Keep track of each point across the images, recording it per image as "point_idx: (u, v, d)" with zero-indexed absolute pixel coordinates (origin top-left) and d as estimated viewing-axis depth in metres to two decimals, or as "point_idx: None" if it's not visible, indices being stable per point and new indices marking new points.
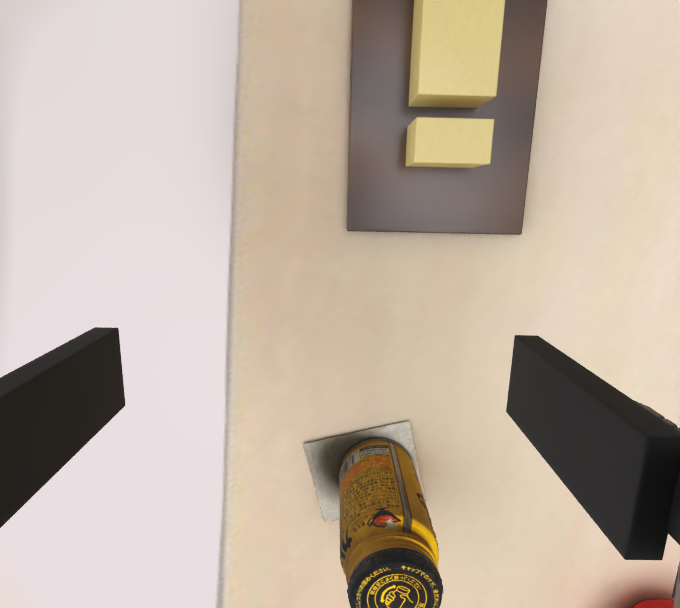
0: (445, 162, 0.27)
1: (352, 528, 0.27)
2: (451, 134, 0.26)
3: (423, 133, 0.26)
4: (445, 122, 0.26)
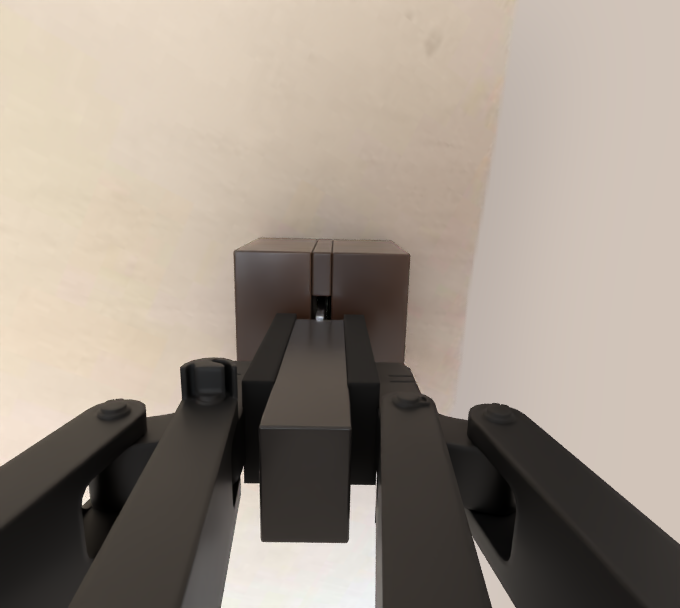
0: None
1: None
2: None
3: None
4: None
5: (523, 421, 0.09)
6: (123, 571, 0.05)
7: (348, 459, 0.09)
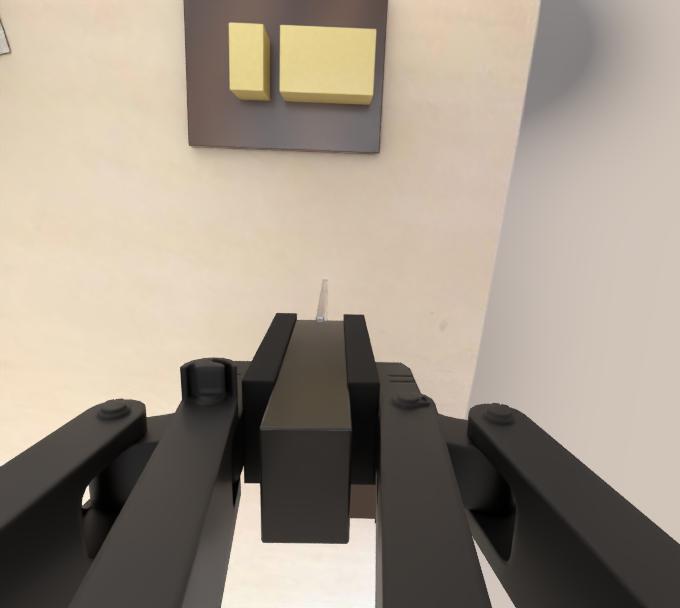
0: (229, 51, 0.33)
1: None
2: (251, 54, 0.33)
3: (250, 30, 0.33)
4: (259, 49, 0.33)
5: (523, 421, 0.09)
6: (123, 571, 0.05)
7: (348, 460, 0.09)
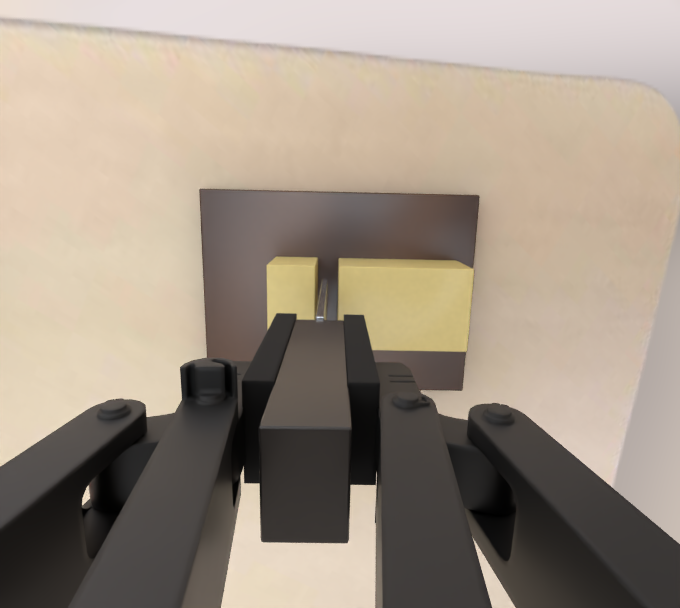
0: (268, 300, 0.24)
1: None
2: (297, 304, 0.24)
3: (297, 274, 0.23)
4: (309, 297, 0.24)
5: (523, 421, 0.09)
6: (123, 571, 0.05)
7: (348, 459, 0.09)
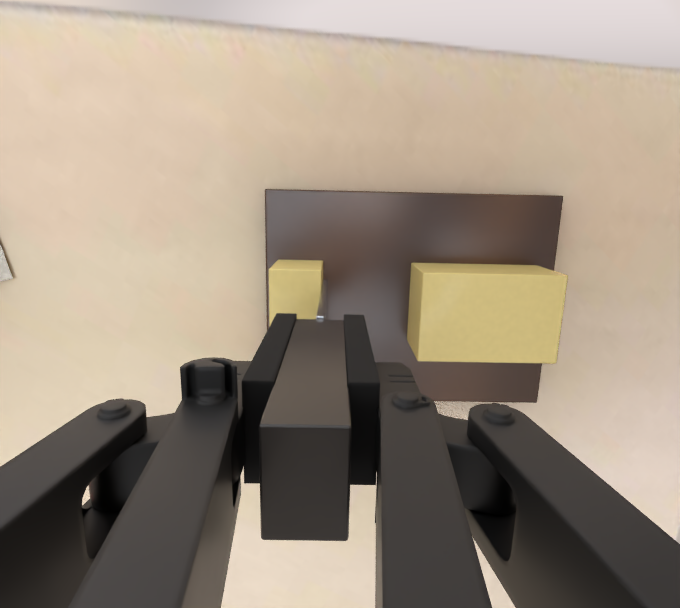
0: (270, 306, 0.22)
1: None
2: (302, 312, 0.22)
3: (302, 279, 0.22)
4: (315, 304, 0.22)
5: (523, 421, 0.09)
6: (123, 571, 0.05)
7: (347, 457, 0.09)
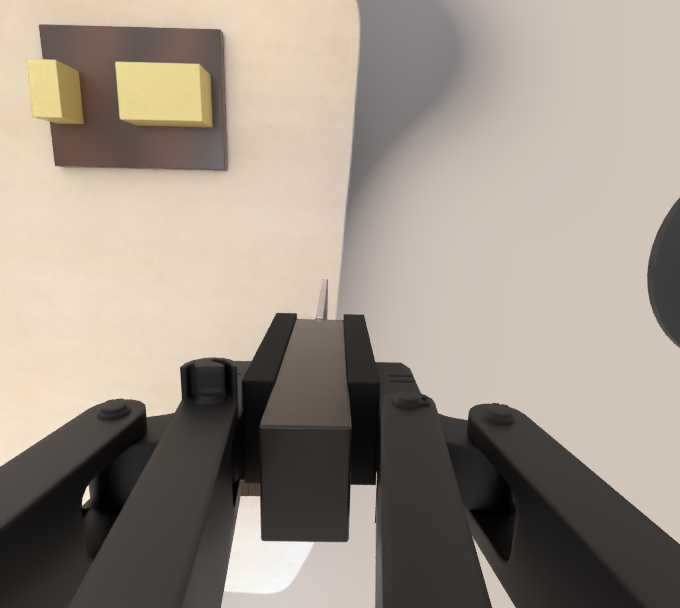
0: (29, 83, 0.38)
1: None
2: (47, 86, 0.38)
3: (45, 65, 0.38)
4: (54, 81, 0.38)
5: (523, 421, 0.09)
6: (123, 571, 0.05)
7: (348, 458, 0.09)
